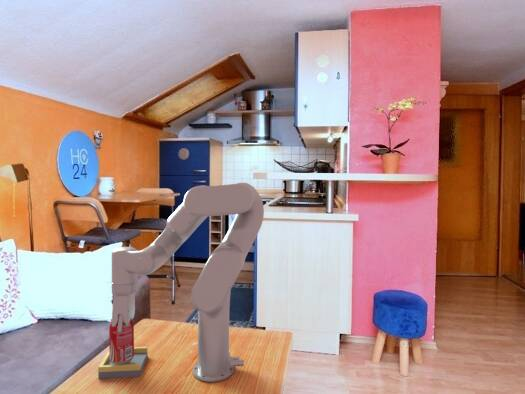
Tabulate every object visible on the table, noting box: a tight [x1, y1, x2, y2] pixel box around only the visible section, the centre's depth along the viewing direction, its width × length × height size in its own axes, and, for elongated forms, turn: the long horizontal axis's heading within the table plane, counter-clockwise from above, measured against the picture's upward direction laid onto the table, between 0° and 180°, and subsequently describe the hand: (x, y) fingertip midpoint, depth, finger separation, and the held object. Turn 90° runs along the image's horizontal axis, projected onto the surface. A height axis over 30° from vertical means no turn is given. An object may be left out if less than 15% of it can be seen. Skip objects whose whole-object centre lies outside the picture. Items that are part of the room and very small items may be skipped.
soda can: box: [108, 318, 135, 365], centre depth 116 cm, size 7×7×13 cm
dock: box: [97, 346, 149, 380], centre depth 118 cm, size 12×12×4 cm
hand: (124, 343), depth 118 cm, fingers closed on soda can, 2 cm apart
